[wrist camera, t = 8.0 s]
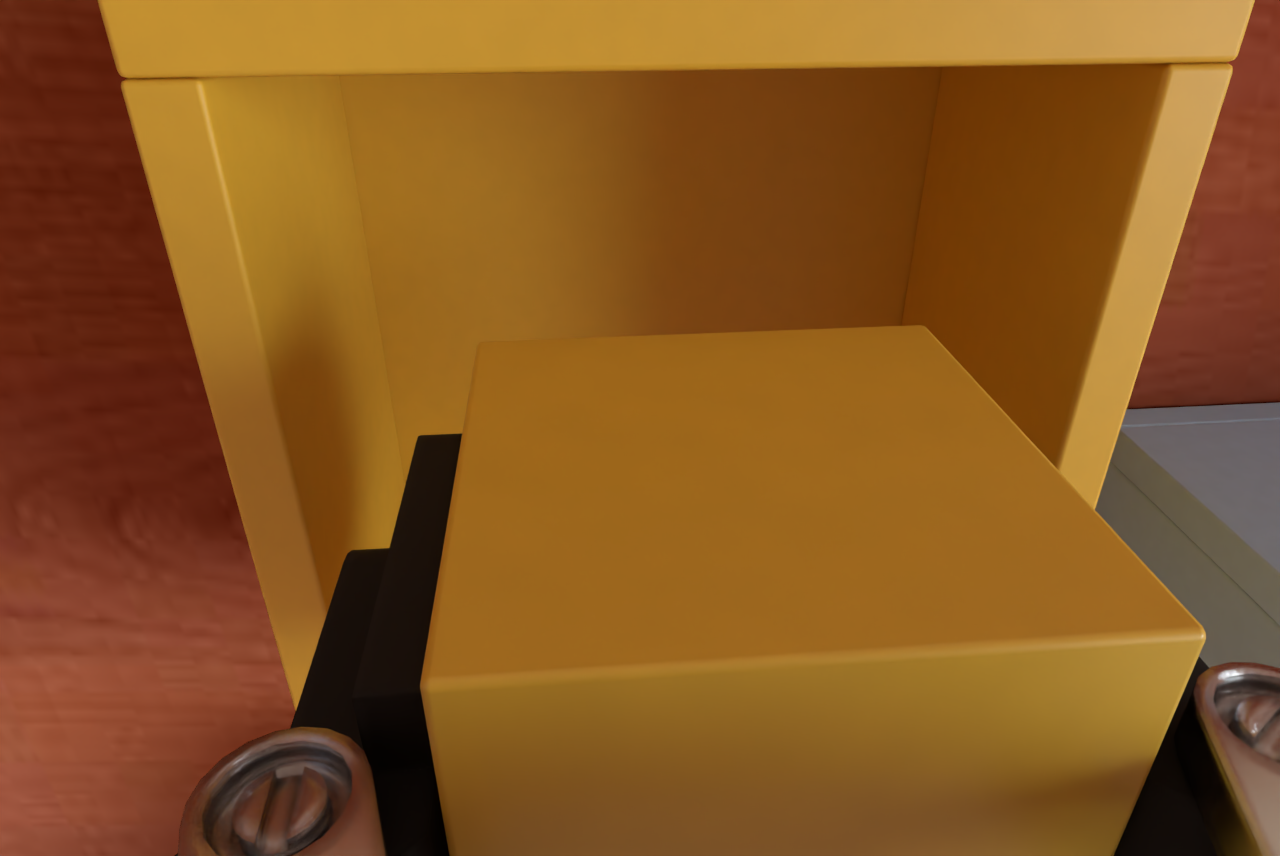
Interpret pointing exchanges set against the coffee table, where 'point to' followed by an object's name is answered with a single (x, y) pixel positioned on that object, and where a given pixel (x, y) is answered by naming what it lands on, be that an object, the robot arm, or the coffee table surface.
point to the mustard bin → (645, 209)
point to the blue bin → (1206, 517)
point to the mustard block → (781, 611)
